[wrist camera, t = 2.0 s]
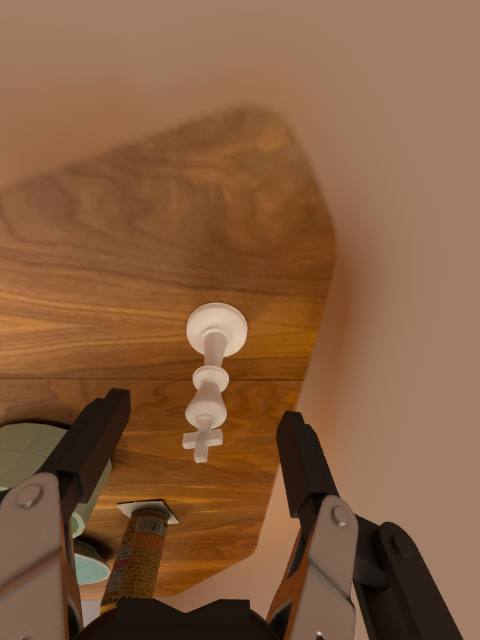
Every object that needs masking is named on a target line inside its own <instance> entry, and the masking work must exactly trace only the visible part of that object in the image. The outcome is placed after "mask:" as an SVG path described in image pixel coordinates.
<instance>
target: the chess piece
mask: <svg viewBox="0 0 480 640" xmlns="http://www.w3.org/2000/svg"><path fill="white" fill-rule="evenodd" d="M247 330H248V329H247V323H246V320H245V318H244V316H243V315H242V314H241V313H240V312H239V311H238V310H237V309H236V308H234V307H232V306H230V305H228V304H225V303H217V302H215V303H208V304H204V305H202V306H200V307H198V308H197V309H196V310H194V311H193V312H192V314H191V315H190V317H189V319H188V322H187V329H186V333H187V338H188V341H189V343H190V344H191V346H192V347H193V348H194V349H195V350H196V351H198V352H199V353H201V354H203V355H204V366H202V367H200V368H198V369H197V370H196V371H195V372H194V374H193V384H194V386H195V388H196V389H197V390H198V391H197V393H196V395H195V396H194V398H193V399H192V400H191V402H190V403H189V405H188V407H187V409H186V413H185V415H186V419H187V420H188V422H189V423H190V424H192V425H193V426H195V427H197V428H198V432H194V433H186V434H184V436H183V441H182V445H183V447H184V448H185V449H191V448H195V452H194V459H195V461H196V463H200V462H207V456H208V446H214V445H222V444H223V433H222V430H221V429H216V430H210V429H212V428H216V427H218V426H220V425H221V424H222V423H223V422H224V421H225V420H226V417H227V411H226V407H225V404H224V402H223V400H222V396H221V392H222V391H223V390H224V389H225V388H226V387H227V385H228V383H229V376H228V374H227V372H226V371H225V370H224V369H222V368H221V364H222V360H223V357H227V356H230V355H232V354H234V353H236V352H237V351H239V350H240V349H241V347H242V346H243V345H244V343H245V341H246V337H247Z"/></svg>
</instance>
